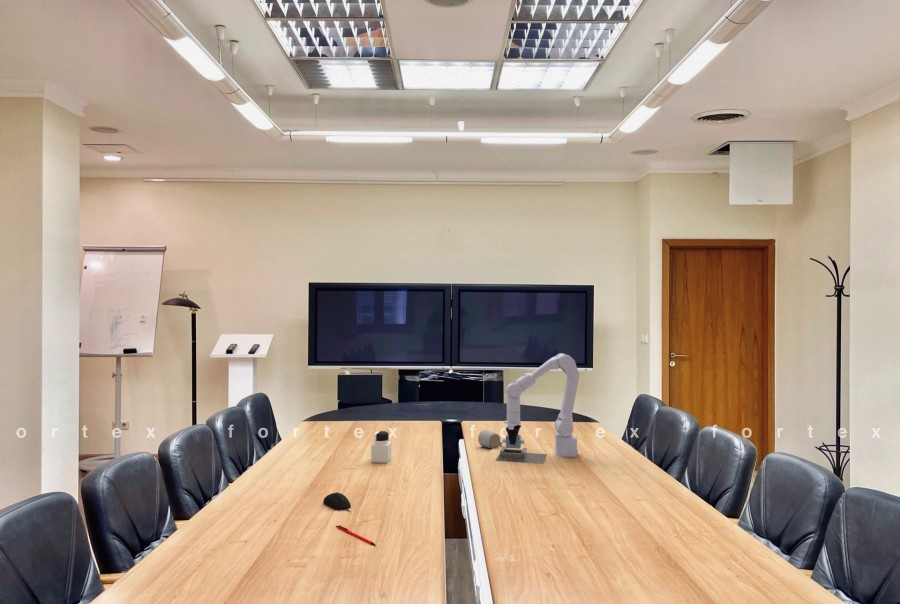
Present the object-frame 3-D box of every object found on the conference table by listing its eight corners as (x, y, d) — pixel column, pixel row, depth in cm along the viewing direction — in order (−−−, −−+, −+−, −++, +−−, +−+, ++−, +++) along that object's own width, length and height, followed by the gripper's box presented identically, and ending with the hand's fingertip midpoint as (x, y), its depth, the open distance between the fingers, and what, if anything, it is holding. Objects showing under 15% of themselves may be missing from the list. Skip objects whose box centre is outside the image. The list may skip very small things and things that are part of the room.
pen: (337, 527, 166) (337, 523, 166) (377, 546, 152) (377, 542, 152) (334, 528, 165) (334, 524, 165) (374, 547, 151) (374, 543, 151)
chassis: (547, 456, 245) (547, 449, 245) (543, 465, 230) (543, 458, 230) (501, 453, 250) (501, 446, 250) (495, 462, 235) (495, 455, 235)
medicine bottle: (391, 458, 241) (391, 430, 241) (387, 462, 234) (387, 433, 234) (374, 458, 242) (374, 429, 242) (370, 462, 235) (370, 433, 235)
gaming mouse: (341, 515, 175) (341, 502, 175) (319, 503, 186) (319, 491, 186) (359, 511, 179) (359, 498, 179) (336, 499, 190) (336, 487, 191)
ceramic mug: (490, 450, 255) (490, 433, 255) (477, 447, 261) (477, 430, 261) (506, 447, 262) (506, 430, 262) (493, 443, 268) (494, 427, 268)
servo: (524, 446, 245) (524, 433, 245) (523, 448, 241) (523, 435, 241) (503, 445, 247) (503, 432, 248) (502, 447, 244) (502, 434, 244)
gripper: (506, 408, 253) (506, 438, 252) (501, 414, 238) (501, 446, 238) (522, 408, 251) (522, 439, 251) (518, 414, 237) (518, 447, 237)
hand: (513, 443), depth 244 cm, fingers closed on servo, 4 cm apart
